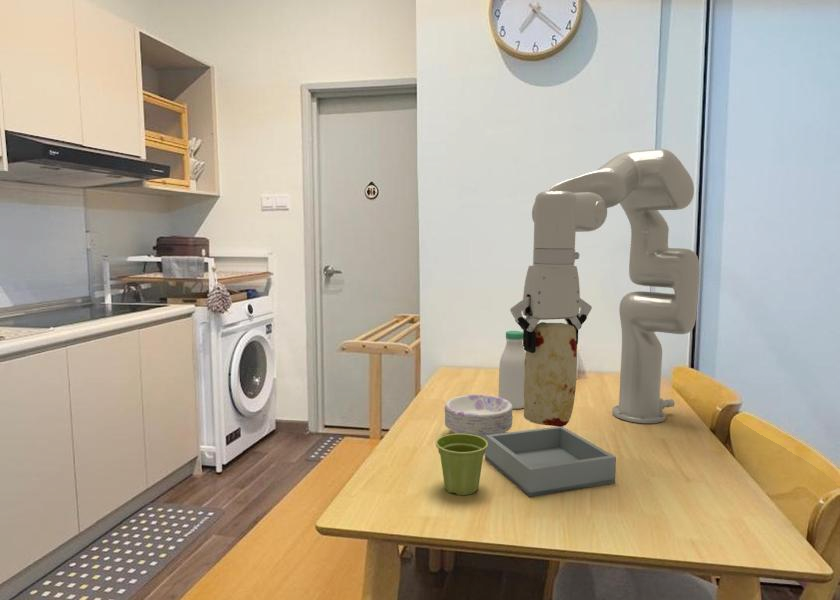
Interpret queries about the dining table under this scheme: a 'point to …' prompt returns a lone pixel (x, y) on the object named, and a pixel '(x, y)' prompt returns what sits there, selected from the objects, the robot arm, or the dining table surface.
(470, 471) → the plant pot
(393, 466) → the dining table surface
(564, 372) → the food model
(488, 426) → the paper bowls
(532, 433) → the bin
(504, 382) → the milk bottle
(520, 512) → the dining table surface
